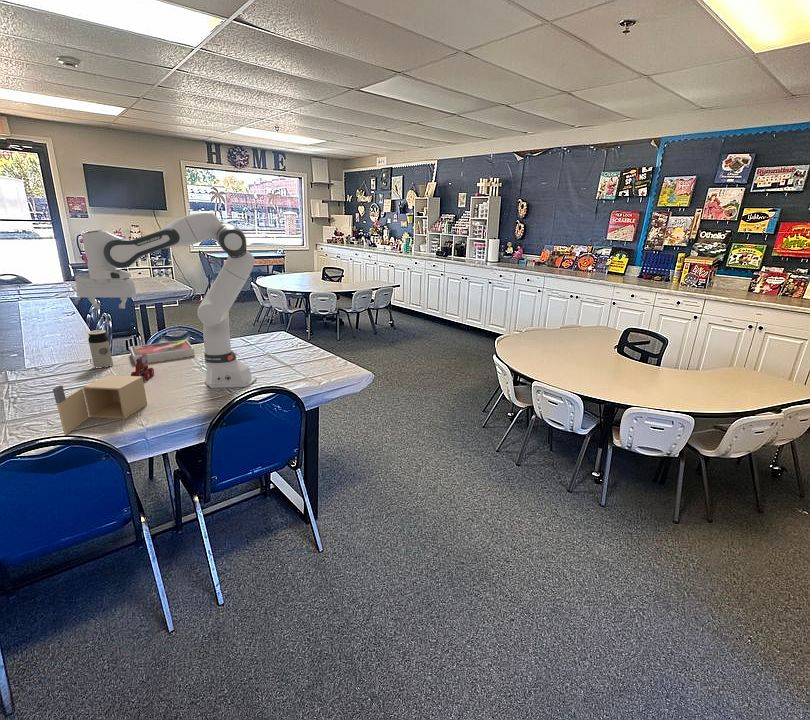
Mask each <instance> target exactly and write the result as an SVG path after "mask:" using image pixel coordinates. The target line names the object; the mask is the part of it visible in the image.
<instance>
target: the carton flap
mask: <svg viewBox="0 0 810 720" xmlns="http://www.w3.org/2000/svg"><path fill="white" fill-rule="evenodd" d="M52 393H53V397H54V399H55V403H56V407H57V411H58V415H59V418H60V422H61V425H62V431H63V435H64V436H67V435H68V434H69V433H71V432H72V431H73V430H75V428H77V427H78V426H80V425H81V424H82V423H84V421H86V420H87V419H88V418H90V417H89V413H88V409H87V405H86V400H85V396H84V391H83V387H80V388H79V389H77V390H75V391H73V393H70V394H69V395H68V396H66V393H65V390H64V385H57V386H56V387H53V389H52Z"/></svg>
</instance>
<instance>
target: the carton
mask: <svg viewBox="0 0 810 720" xmlns="http://www.w3.org/2000/svg"><path fill="white" fill-rule="evenodd" d="M82 388H83V393H84V397H85V402H86V406H87V410H88V415H89V418H103V419H105V418H106V419H107V418H108V419H127V418H129V417H130V416H132V415H133V414H135V413H136V412H139V411H140V410H141V409H143V408H144V407H146V406H147V405H148V401H147V394H146V389H145V383H144V377H141V376H131V375H110V374H109V375H106V376H104V377H102V378H99V379H97V380H96V381H93V382H91V383H88V384H87V385H85V386H83V387H82Z"/></svg>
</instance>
